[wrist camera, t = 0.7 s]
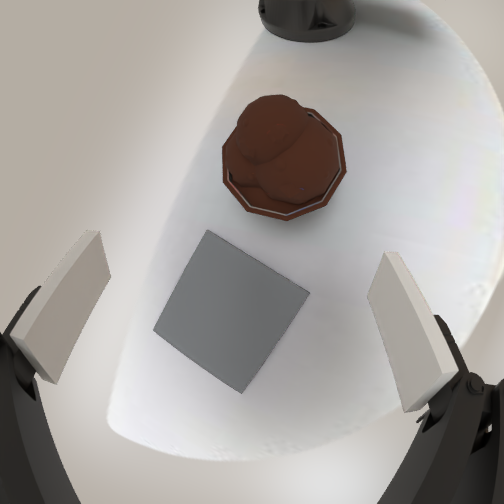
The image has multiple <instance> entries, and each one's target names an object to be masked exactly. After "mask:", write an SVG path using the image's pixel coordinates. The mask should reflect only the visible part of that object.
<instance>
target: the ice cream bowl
mask: <svg viewBox="0 0 504 504" xmlns="http://www.w3.org/2000/svg"><path fill="white" fill-rule="evenodd" d="M222 164H223V183H224V184H225V186H226V187H227V188H228V189H229V190H230V192H231V193H232V194H233V195H234V196H235V198H236V199H237V200H238V201H239V203H240V204H241V205H242V206H243V207H244V209H245V210H246V211H247V212H251V213H255V214H260V215H264V216H268V217H272V218H276V219H280V220H284V221H289V220H291V219H294V218H296V217H299V216H301V215H304V214H306V213H309V212H311V211H314V210H316V209H319V208H321V207H324V206H326V205H327V203H328V202H329V200H330V198H331V197H332V195H333V193H334V192H335V190H336V189H337V187H338V185H339V184H340V182H341V180H342V179H343V177H344V175H345V174H346V172H347V171H346V163H345V156H344V150H343V143H342V137H341V134H340V133H339V132H338V131H337V130H336V129H335V128H334V127H333V126H332V125H331V124H330V123H328V122H327V121H326V120H325V119H324V118H323V117H322V116H321V115H320V114H319V113H318V112H317V111H316V110H314V109H310V108H304V107H302V106H300V105H299V104H298V102H297V101H296V100H294V99H291V98H290V97H288V96H285V95H269V96H263V97H260V98H258V99H257V100H255V101H253V102H252V103H250V104H248V106H247V107H246V108H245V110H244V111H243V113H242V114H241V115H240V117H239V119H238V121H237V126H236V128H235V129H234V130H233V132H232V133H231V135H230V136H229V138H228V139H227V141H226V142H225V143H224V145H223V146H222Z"/></svg>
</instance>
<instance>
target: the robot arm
mask: <svg viewBox="0 0 504 504" xmlns="http://www.w3.org/2000/svg"><path fill="white" fill-rule="evenodd" d="M258 9H259V14H260V18H261V21H262V23H263V25H264V26H265V28H266V29H268V30H269V31H270V32H272V33H273V34H275V35H277V36H279V37H282V38H285V39H289V40H294V41H302V42H318V41H326V40H330V39H334V38H337V37H339V36H341V35H343V34H345V33H346V32H348V31H349V30H350V29H351V27H352V26H353V24H354V20H355V7H354V4H353V2H352V0H259V7H258ZM110 278H111V275H110V271H109V267H108V263H107V260H106V256H105V252H104V248H103V244H102V240H101V235H100V231H91V230H86V232H85V233H84V234H83V235H82V236H81V237H80V239H79V240H78V241H77V242H76V243H75V244H74V246H73V247H72V248H71V249H70V250H69V252H68V253H67V254H66V255H65V257H64V258H63V259H62V260H61V262H60V263H59V264H58V265H57V267H56V268H55V269H54V271H53V272H52V273H51V274H50V276H49V277H48V278H47V280H46V281H45V282H44V284H43V285H42V286H38V287H37V288H36V289H34V290H33V291H32V292H31V293H30V294H29V295H28V297H27V298H26V300H25V301H24V303H23V304H22V306H21V307H20V309H19V310H18V311H17V313H16V314H15V316H14V317H13V319H12V320H11V322H10V323H9V325H8V327H7V328H6V330H5V331H4V333H3V334H1V333H0V504H81V503H80V501H79V499H78V497H77V495H76V493H75V491H74V489H73V487H72V485H71V483H70V480H69V478H68V476H67V474H66V471H65V469H64V467H63V465H62V462H61V460H60V457H59V454H58V452H57V449H56V447H55V444H54V441H53V438H52V435H51V432H50V429H49V426H48V423H47V420H46V416H45V413H44V410H43V406H42V402H41V398H40V394H39V391H38V386H37V382H36V380H35V378H34V374H35V372H37V373H38V374H39V375H40V377H41V378H42V379H43V380H45V381H48V382H50V383H53V384H57V383H58V380H59V378H60V376H61V373H62V371H63V369H64V366H65V365H66V362H67V360H68V358H69V356H70V354H71V352H72V349H73V347H74V345H75V343H76V341H77V339H78V337H79V335H80V333H81V331H82V329H83V327H84V325H85V324H86V322H87V320H88V318H89V316H90V314H91V312H92V310H93V308H94V307H95V305H96V303H97V301H98V299H99V297H100V296H101V294H102V292H103V290H104V289H105V287H106V285H107V283H108V282H109V280H110ZM367 297H368V300H369V303H370V305H371V308H372V311H373V314H374V316H375V319H376V322H377V325H378V328H379V331H380V334H381V337H382V340H383V343H384V346H385V349H386V352H387V355H388V358H389V362H390V365H391V368H392V371H393V375H394V378H395V382H396V385H397V389H398V392H399V396H400V400H401V403H402V407H403V411H404V413H406V412H412V411H417V410H420V409H421V408H422V407H423V406H425V405H426V404H427V403H428V405H429V408H430V409H429V410H428V411H427V412H425V413H424V414H423V415H422V416H421V417H420V418H418V420H417V421H416V422H417V423H419V422H420V421H421V420H422V419H423V421H422V423H421V425H420V428H419V430H418V432H417V434H416V436H415V438H414V440H413V442H412V444H411V447H410V449H409V450H408V453H407V454H406V456H405V458H404V460H403V462H402V463H401V465H400V467H399V469H398V471H397V472H396V474H395V476H394V478H393V479H392V481H391V483H390V484H389V486H388V487H387V489H386V491H385V492H384V494H383V495H382V497H381V498H380V500H379V501H378V503H377V504H504V379H503V380H501V381H500V382H499V383H498V384H497V385H489V384H485V383H484V381H483V380H482V378H481V377H479V376H478V375H477V374H475V373H472V372H470V373H469V371H468V369H467V366H466V364H465V362H464V360H463V357H462V355H461V353H460V351H459V349H458V346H457V344H456V343H455V340H454V338H453V336H452V335H451V332H450V330H449V328H448V326H447V324H446V323H445V322H444V321H443V319H442V318H441V317H440V316H439V315H433V314H432V312H431V310H430V308H429V306H428V304H427V302H426V300H425V298H424V297H423V295H422V293H421V291H420V289H419V287H418V286H417V284H416V282H415V280H414V279H413V277H412V275H411V273H410V272H409V270H408V268H407V267H406V265H405V263H404V261H403V260H402V258H401V257H400V255H399V253H398V252H386V251H384V254H383V256H382V259H381V262H380V264H379V267H378V270H377V272H376V275H375V277H374V280H373V282H372V285H371V287H370V290H369V292H368V295H367ZM491 424H492V431H490V432H488V427H489V426H490V425H491Z"/></svg>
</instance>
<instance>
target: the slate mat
mask: <svg viewBox="0 0 504 504" xmlns="http://www.w3.org/2000/svg"><path fill="white" fill-rule="evenodd" d="M308 295H309V292H308V291H306V290H304V289H303V288H301V287H299V286H298V285H296V284H295V283H293V282H291V281H290V280H288V279H287V278H285V277H283V276H282V275H280V274H278V273H277V272H275V271H274V270H272V269H270V268H269V267H267V266H265V265H264V264H262V263H261V262H259V261H257V260H256V259H254V258H252V257H251V256H249V255H248V254H246V253H244V252H243V251H241V250H240V249H238V248H236V247H235V246H233V245H231V244H230V243H228V242H227V241H225V240H223V239H222V238H220V237H219V236H217V235H215V234H214V233H212V232H211V231H209V230H207V231H206V232H205V234H204V236H203V238H202V239H201V241H200V243H199V245H198V247H197V248H196V250H195V252H194V254H193V256H192V257H191V259H190V261H189V263H188V265H187V266H186V268H185V270H184V272H183V274H182V276H181V277H180V279H179V281H178V283H177V285H176V287H175V289H174V291H173V292H172V294H171V296H170V298H169V300H168V302H167V304H166V306H165V308H164V310H163V312H162V313H161V315H160V317H159V319H158V321H157V323H156V325H155V327H154V329H153V331H154V332H156V333H157V334H158V335H159V336H161V337H162V338H163V339H164V340H166V341H167V342H168V343H170V344H171V345H172V346H173V347H175V348H176V349H177V350H179V351H180V352H181V353H183V354H184V355H185V356H187V357H188V358H189V359H191V360H192V361H194V362H195V363H196V364H198V365H199V366H201V367H202V368H203V369H205V370H206V371H208V372H209V373H211V374H212V375H213V376H215V377H216V378H218V379H219V380H221V381H222V382H224V383H225V384H227V385H228V386H230V387H231V388H233V389H235V390H236V391H238V392H239V393H241V394H242V393H243V391H244V390H245V389H246V387H247V386H248V384H249V383H250V382H251V380H252V379H253V377H254V376H255V375H256V373H257V372H258V370H259V369H260V368H261V366H262V365H263V363H264V362H265V360H266V359H267V358H268V356H269V355H270V353H271V352H272V350H273V349H274V347H275V346H276V344H277V343H278V341H279V340H280V338H281V337H282V335H283V334H284V332H285V331H286V329H287V328H288V326H289V325H290V323H291V322H292V320H293V319H294V317H295V316H296V314H297V312H298V311H299V309H300V308H301V306H302V305H303V303H304V301H305V300H306V298H307V297H308Z"/></svg>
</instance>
